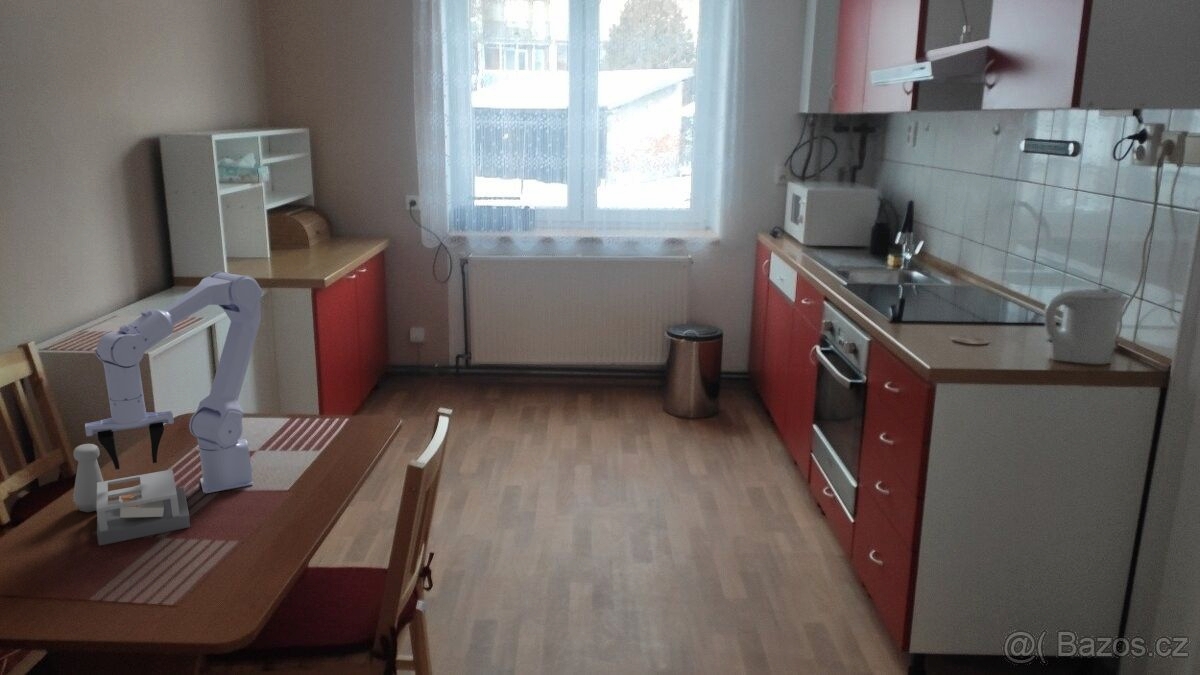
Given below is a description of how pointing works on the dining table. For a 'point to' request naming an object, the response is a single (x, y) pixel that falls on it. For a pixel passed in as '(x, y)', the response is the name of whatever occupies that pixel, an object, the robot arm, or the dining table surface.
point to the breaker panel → (151, 490)
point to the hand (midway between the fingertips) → (136, 464)
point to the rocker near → (142, 509)
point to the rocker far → (131, 495)
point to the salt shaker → (87, 477)
